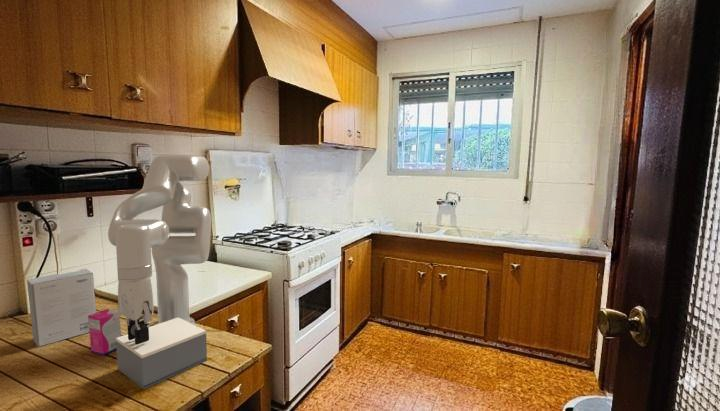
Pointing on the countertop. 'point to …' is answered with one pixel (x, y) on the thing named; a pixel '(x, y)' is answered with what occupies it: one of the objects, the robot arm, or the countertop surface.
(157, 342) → the flap
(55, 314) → the hard drive box
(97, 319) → the supplement box
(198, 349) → the grey storage box
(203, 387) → the countertop surface
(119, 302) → the robot arm
